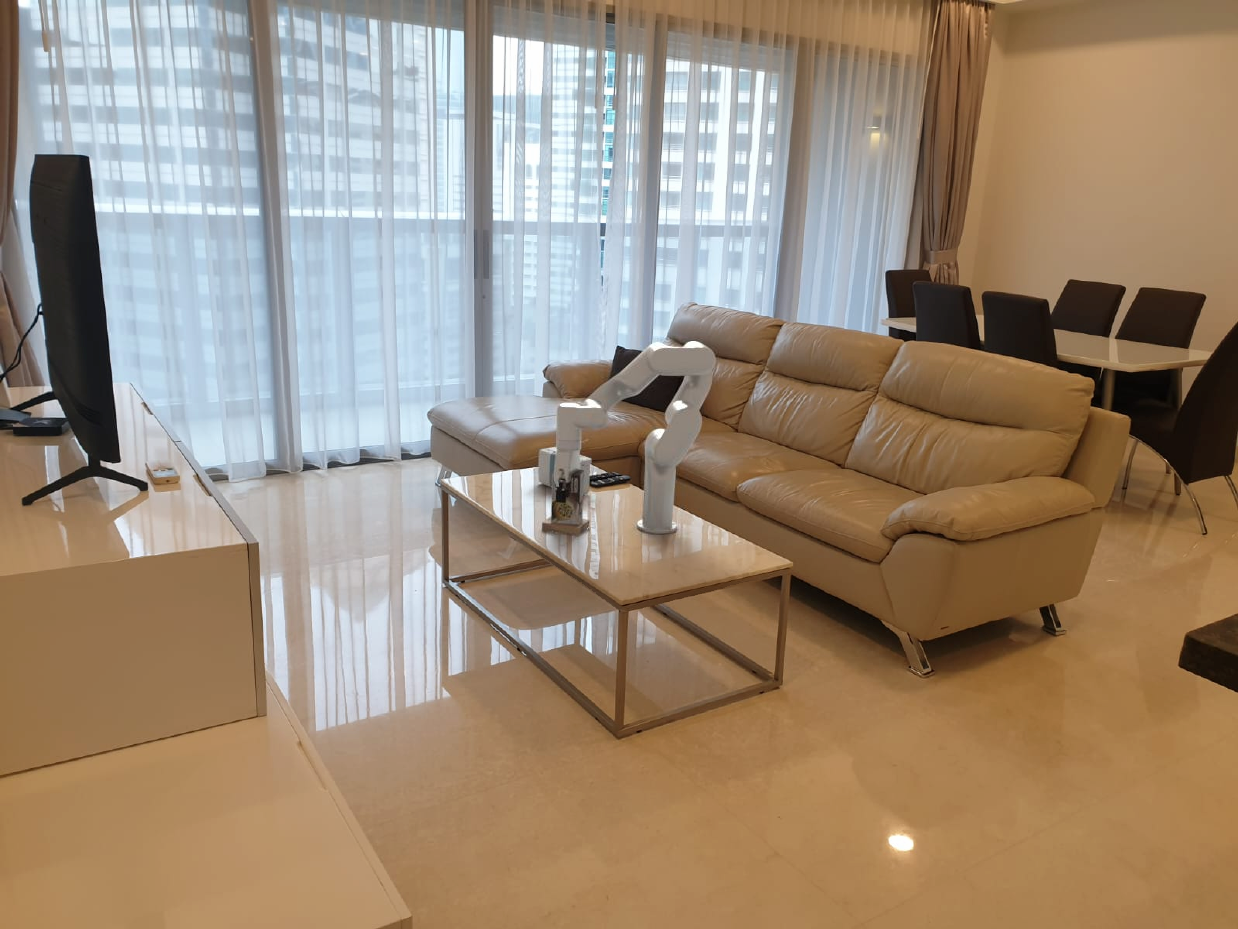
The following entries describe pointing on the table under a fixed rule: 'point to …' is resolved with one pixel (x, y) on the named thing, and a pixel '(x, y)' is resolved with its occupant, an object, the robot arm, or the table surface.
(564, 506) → the coffee box
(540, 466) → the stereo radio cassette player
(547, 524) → the flat wooden block
